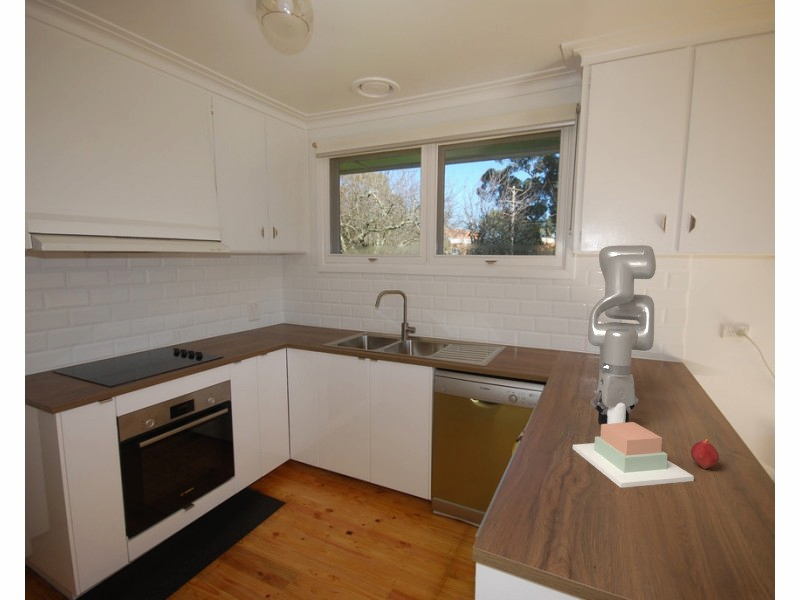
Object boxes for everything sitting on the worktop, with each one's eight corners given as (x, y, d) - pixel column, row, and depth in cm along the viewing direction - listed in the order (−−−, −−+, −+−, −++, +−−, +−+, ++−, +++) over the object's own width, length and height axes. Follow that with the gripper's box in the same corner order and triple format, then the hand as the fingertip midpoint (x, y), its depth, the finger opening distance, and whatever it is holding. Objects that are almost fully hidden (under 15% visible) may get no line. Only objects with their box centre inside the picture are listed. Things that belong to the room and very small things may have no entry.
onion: (684, 464, 107) (687, 436, 106) (699, 460, 109) (701, 432, 108) (707, 475, 101) (710, 445, 100) (722, 471, 103) (725, 442, 102)
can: (603, 428, 130) (605, 392, 128) (626, 433, 125) (628, 396, 124) (598, 434, 125) (600, 397, 123) (621, 440, 120) (624, 402, 119)
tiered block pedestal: (572, 448, 115) (574, 418, 114) (634, 444, 118) (636, 414, 117) (620, 487, 96) (623, 451, 95) (693, 480, 99) (696, 445, 98)
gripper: (598, 373, 118) (595, 431, 120) (650, 371, 120) (646, 427, 122) (583, 366, 125) (580, 421, 127) (632, 364, 128) (629, 418, 130)
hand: (613, 424), depth 125 cm, fingers open, 6 cm apart
